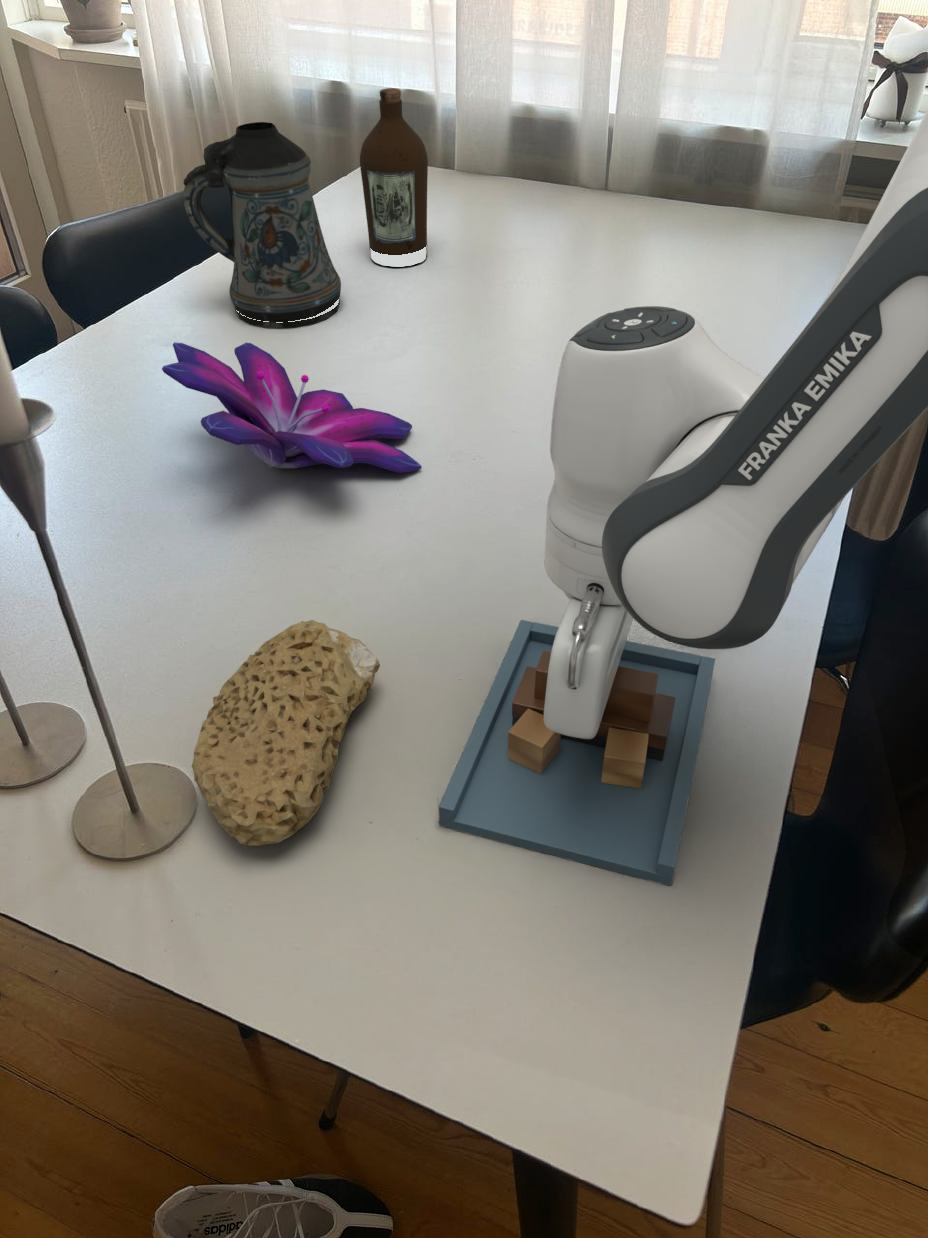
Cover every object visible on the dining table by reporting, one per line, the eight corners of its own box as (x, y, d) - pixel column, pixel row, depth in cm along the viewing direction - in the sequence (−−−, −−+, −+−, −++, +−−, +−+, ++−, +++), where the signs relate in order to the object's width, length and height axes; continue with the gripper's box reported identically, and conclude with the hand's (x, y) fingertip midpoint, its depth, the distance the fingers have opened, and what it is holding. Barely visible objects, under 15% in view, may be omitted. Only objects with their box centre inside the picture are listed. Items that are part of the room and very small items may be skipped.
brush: (671, 723, 77) (680, 668, 73) (662, 763, 74) (671, 708, 70) (525, 692, 80) (527, 637, 76) (511, 729, 77) (512, 674, 73)
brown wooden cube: (560, 750, 75) (562, 723, 73) (541, 774, 73) (542, 748, 71) (526, 734, 76) (528, 707, 74) (507, 758, 74) (507, 731, 72)
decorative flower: (333, 417, 130) (358, 348, 125) (441, 547, 111) (476, 472, 106) (101, 377, 110) (121, 294, 106) (184, 526, 91) (213, 433, 87)
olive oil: (371, 246, 165) (360, 82, 149) (433, 247, 164) (428, 82, 148) (362, 269, 157) (349, 98, 141) (427, 270, 156) (421, 98, 140)
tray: (711, 677, 83) (715, 658, 81) (671, 886, 67) (675, 867, 65) (520, 637, 87) (520, 619, 85) (438, 825, 71) (438, 806, 69)
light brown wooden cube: (644, 760, 74) (649, 733, 72) (640, 789, 72) (645, 763, 70) (605, 753, 75) (608, 726, 73) (600, 783, 72) (603, 756, 71)
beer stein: (365, 307, 145) (350, 125, 129) (254, 346, 135) (224, 153, 119) (301, 278, 154) (280, 104, 138) (194, 312, 144) (158, 129, 128)
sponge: (282, 667, 86) (122, 791, 70) (296, 595, 82) (129, 710, 66) (409, 736, 83) (271, 882, 67) (430, 665, 78) (288, 803, 62)
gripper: (625, 653, 57) (606, 803, 66) (679, 478, 72) (658, 620, 81) (523, 632, 59) (518, 781, 68) (596, 465, 74) (584, 606, 83)
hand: (594, 692), depth 74 cm, fingers closed on brush, 2 cm apart
